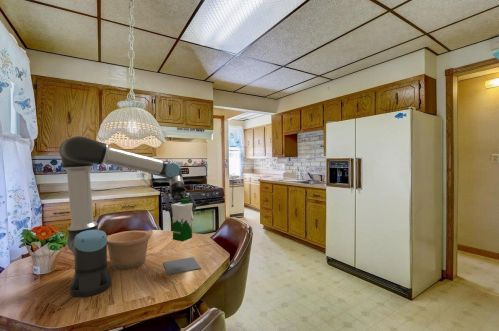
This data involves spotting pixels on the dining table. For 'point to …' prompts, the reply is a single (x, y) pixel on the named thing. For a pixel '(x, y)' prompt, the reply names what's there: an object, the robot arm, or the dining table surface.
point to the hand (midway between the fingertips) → (183, 220)
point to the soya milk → (182, 220)
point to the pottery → (127, 249)
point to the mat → (181, 265)
